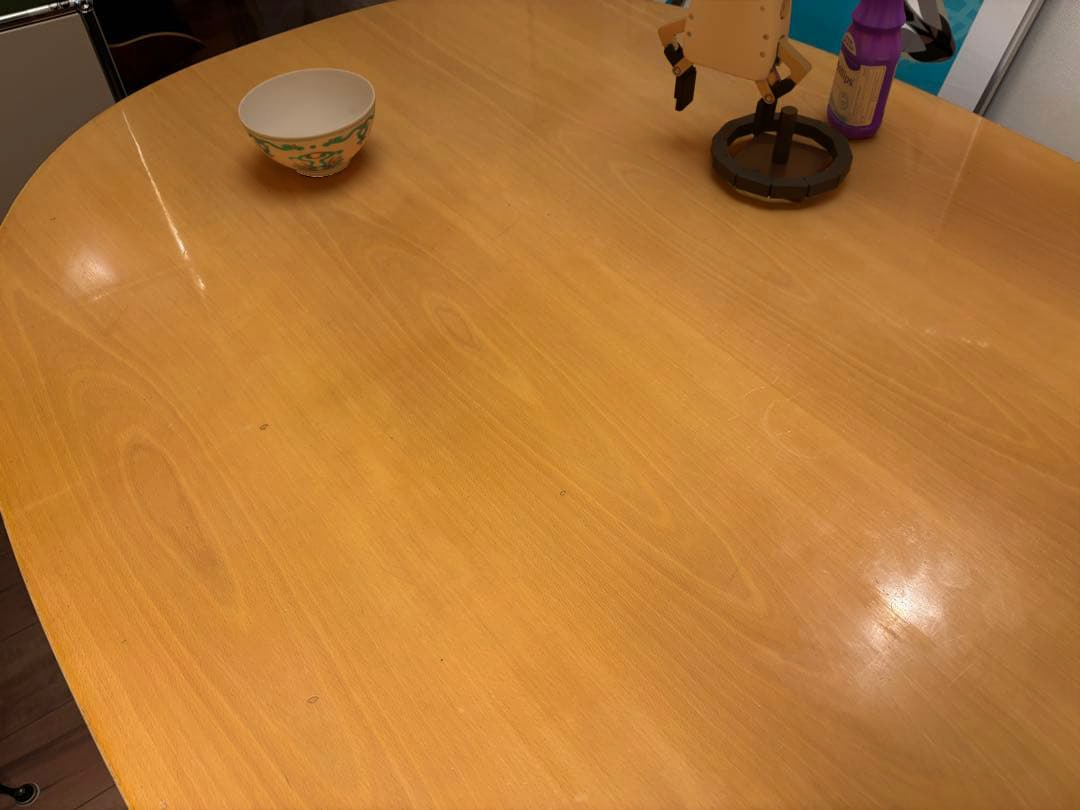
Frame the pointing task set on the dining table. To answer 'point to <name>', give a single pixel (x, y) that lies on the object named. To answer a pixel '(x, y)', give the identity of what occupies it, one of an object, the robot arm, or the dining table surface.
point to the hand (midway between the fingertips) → (721, 117)
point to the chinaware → (310, 118)
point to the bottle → (866, 68)
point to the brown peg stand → (783, 152)
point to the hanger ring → (782, 185)
